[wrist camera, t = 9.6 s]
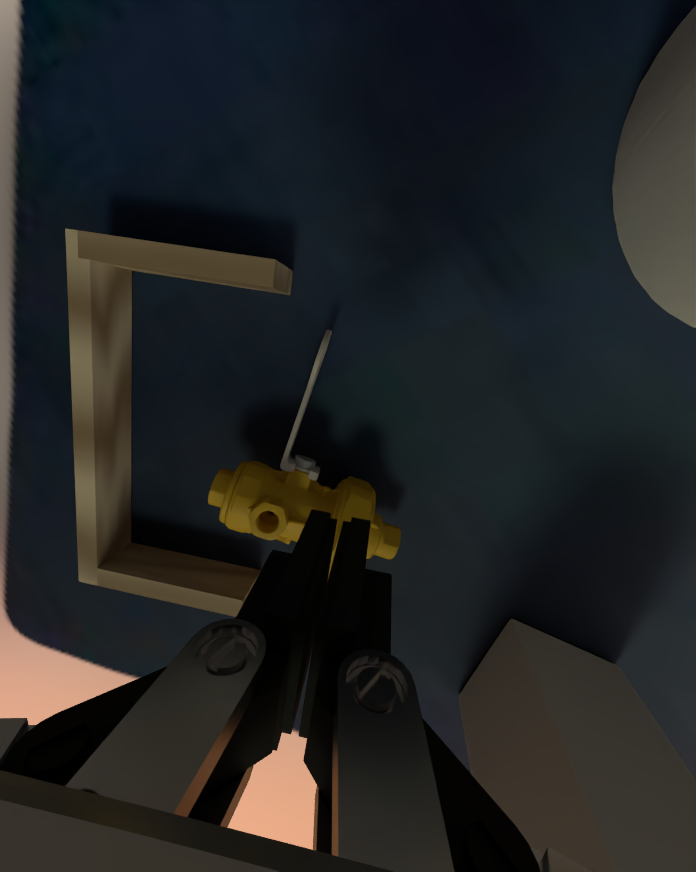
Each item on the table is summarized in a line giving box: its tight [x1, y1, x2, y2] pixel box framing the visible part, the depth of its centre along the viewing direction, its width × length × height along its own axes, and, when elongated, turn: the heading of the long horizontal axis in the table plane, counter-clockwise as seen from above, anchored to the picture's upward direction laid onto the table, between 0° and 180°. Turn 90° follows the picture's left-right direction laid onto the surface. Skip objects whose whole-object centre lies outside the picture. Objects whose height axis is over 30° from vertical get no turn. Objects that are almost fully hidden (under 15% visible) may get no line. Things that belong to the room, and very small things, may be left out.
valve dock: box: [65, 229, 293, 617], centre depth 21 cm, size 19×10×3 cm, turn 171°
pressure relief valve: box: [208, 329, 401, 578], centre depth 20 cm, size 6×12×10 cm
